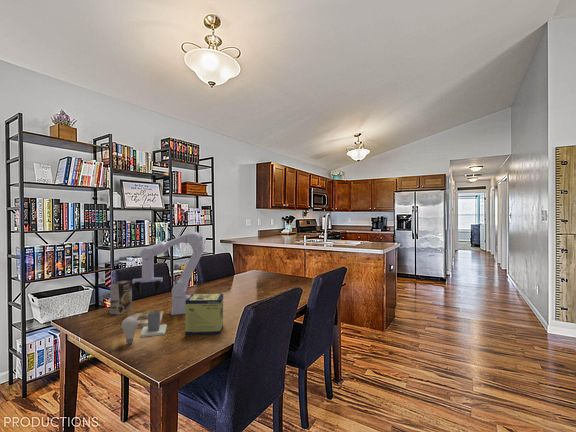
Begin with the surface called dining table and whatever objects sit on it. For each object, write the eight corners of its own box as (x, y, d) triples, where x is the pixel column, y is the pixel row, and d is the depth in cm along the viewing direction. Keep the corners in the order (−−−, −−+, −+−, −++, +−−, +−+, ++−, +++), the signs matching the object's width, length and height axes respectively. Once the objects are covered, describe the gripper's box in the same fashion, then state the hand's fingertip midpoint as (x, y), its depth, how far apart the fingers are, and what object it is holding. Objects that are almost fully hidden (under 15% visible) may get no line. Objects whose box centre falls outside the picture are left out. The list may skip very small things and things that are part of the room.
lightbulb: (125, 341, 128) (125, 314, 128) (140, 340, 128) (140, 314, 128) (118, 347, 122) (118, 319, 122) (134, 346, 122) (134, 319, 122)
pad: (166, 326, 144) (166, 324, 144) (165, 334, 135) (165, 332, 135) (143, 328, 141) (143, 326, 141) (140, 337, 132) (140, 334, 132)
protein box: (220, 334, 135) (220, 299, 135) (184, 335, 134) (184, 300, 134) (223, 325, 146) (223, 293, 146) (190, 326, 144) (190, 293, 144)
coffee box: (120, 315, 160) (120, 284, 160) (109, 314, 161) (109, 283, 161) (132, 309, 169) (132, 280, 169) (122, 308, 170) (122, 279, 170)
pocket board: (163, 314, 160) (163, 311, 160) (160, 325, 145) (160, 321, 145) (129, 317, 156) (129, 314, 156) (122, 329, 140) (122, 325, 140)
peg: (160, 326, 141) (160, 310, 141) (158, 330, 137) (158, 313, 137) (149, 327, 140) (149, 311, 140) (147, 331, 135) (147, 314, 135)
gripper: (131, 272, 157) (131, 298, 157) (161, 270, 161) (161, 296, 161) (133, 269, 163) (133, 295, 163) (163, 268, 168) (163, 293, 168)
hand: (147, 295), depth 163 cm, fingers open, 7 cm apart
